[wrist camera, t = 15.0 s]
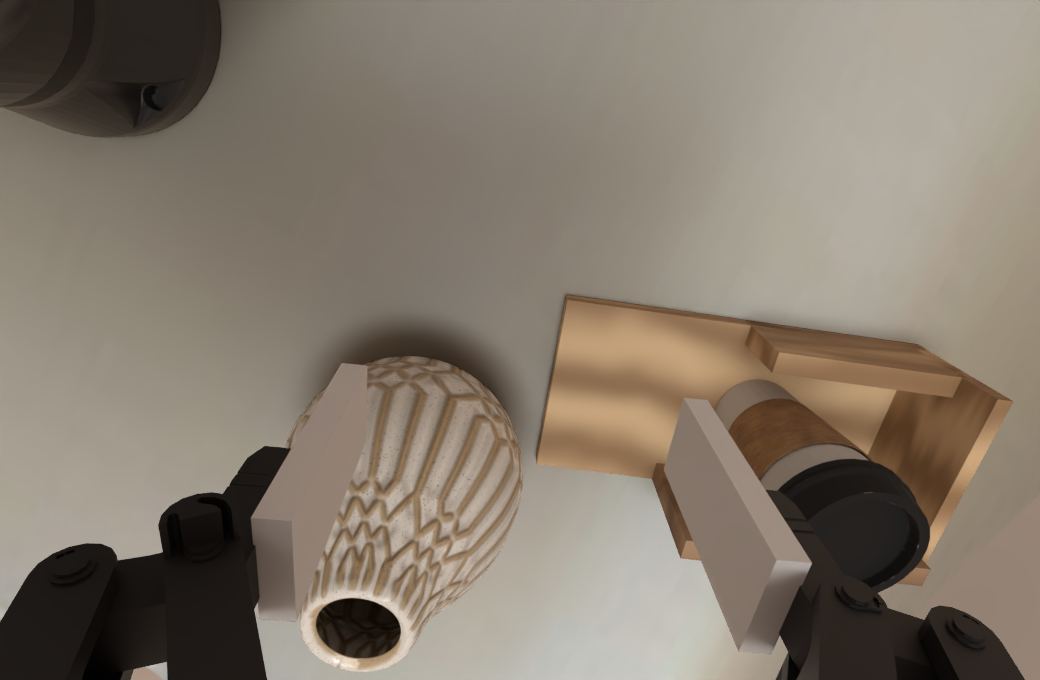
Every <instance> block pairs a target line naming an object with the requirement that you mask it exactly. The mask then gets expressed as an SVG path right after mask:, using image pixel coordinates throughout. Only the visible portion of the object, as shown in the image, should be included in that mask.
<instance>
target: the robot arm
mask: <svg viewBox="0 0 1040 680" xmlns="http://www.w3.org/2000/svg"><path fill="white" fill-rule="evenodd" d="M219 47H220V13H219V7H218V1H217V0H0V107H3V108H5V109H8V110H11V111H13V112H16V113H18V114H21V115H24V116H26V117H29V118H31V119H34V120H37V121H39V122H42V123H45V124H47V125H50V126H52V127H55V128H58V129H61V130H64V131H67V132H71V133H75V134H80V135H86V136H93V137H124V136H137V135H144V134H148V133H152V132H156V131H159V130H161V129H164V128H166V127H168V126H170V125H172V124H174V123H175V122H177V121H178V120H180V119H181V118H183V117H184V116H185V115H186V114H187V113H188V112H189V111H191V110H192V109H193V107H194V106H195V105H196V104H197V103H198V102H199V100H200V99H201V97H202V96H203V94H204V93H205V91H206V89H207V87H208V85H209V83H210V81H211V79H212V76H213V74H214V71H215V67H216V64H217V59H218V54H219ZM366 413H367V366H366V365H356V364H346V363H341V365H340V366H339V368H338V370H337V372H336V373H335V375H334V377H333V378H332V380H331V382H330V384H329V385H328V387H327V389H326V390H325V392H324V394H323V396H322V397H321V399H320V401H319V402H318V404H317V406H316V407H315V409H314V411H313V413H312V414H311V416H310V418H309V419H308V421H307V423H306V425H305V426H304V428H303V430H302V431H301V433H300V435H299V437H298V438H297V440H296V442H295V443H294V445H293V447H292V448H280V447H269V446H264V447H263V448H261V449H260V450H258V451H257V452H255V453H254V454H253V455H251V456H250V457H248V458H247V460H246V461H245V462H244V464H243V465H242V467H241V468H240V470H239V471H238V474H237V475H236V476H235V477H234V478H233V480H232V481H231V483H230V486H229V487H227V489H226V490H225V492H224V493H223V494H219V493H202V494H196V495H193V496H189V497H186V498H183V499H181V500H180V501H178V502H176V503H174V504H173V505H171V506H170V507H169V508H168V509H167V510H166V511H165V512H164V513H163V514H162V515H161V518H160V521H159V525H158V526H159V531H160V537H161V543H162V549H163V552H162V553H158V554H154V555H150V556H144V557H138V558H131V559H125V560H119V561H118V560H117V556H116V554H115V553H114V551H113V550H112V548H110V547H107V546H105V545H102V544H87V543H86V544H81V545H77V546H72V547H68V548H66V549H63V550H61V551H59V552H56V553H54V554H52V555H50V556H49V557H47V558H46V559H44V560H43V561H41V562H40V563H38V564H37V566H36V567H35V568H34V569H33V570H32V571H31V572H30V574H29V575H28V576H27V578H26V580H25V581H24V583H23V585H22V586H21V588H20V590H19V591H18V593H17V595H16V596H15V598H14V600H13V601H12V603H11V605H10V606H9V608H8V610H7V611H6V613H5V615H4V617H3V618H2V620H1V622H0V680H130V679H131V676H132V673H133V670H134V669H136V668H140V667H145V666H149V665H154V664H159V663H163V662H167V672H168V680H267V677H266V672H265V667H264V661H263V656H262V650H261V645H260V639H259V634H258V628H257V623H256V617H255V612H254V608H255V606H256V604H257V602H258V609H259V619H262V620H276V621H291V622H296V621H297V619H298V616H299V614H300V611H301V608H302V606H303V603H304V601H305V598H306V596H307V593H308V590H309V588H310V585H311V583H312V580H313V577H314V575H315V572H316V570H317V567H318V565H319V562H320V559H321V557H322V554H323V552H324V549H325V547H326V544H327V541H328V539H329V536H330V534H331V531H332V528H333V526H334V523H335V521H336V518H337V516H338V513H339V510H340V508H341V505H342V503H343V500H344V498H345V495H346V492H347V490H348V487H349V485H350V482H351V479H352V477H353V474H354V472H355V469H356V467H357V464H358V461H359V459H360V456H361V454H362V451H363V449H364V446H365V443H366ZM664 472H665V474H666V476H667V479H668V481H669V484H670V486H671V489H672V491H673V493H674V496H675V498H676V501H677V503H678V506H679V508H680V510H681V513H682V515H683V518H684V520H685V523H686V525H687V527H688V530H689V532H690V535H691V537H692V540H693V542H694V544H695V547H696V549H697V552H698V554H699V557H700V559H701V561H702V564H703V566H704V569H705V571H706V574H707V576H708V578H709V581H710V583H711V586H712V588H713V591H714V593H715V595H716V598H717V600H718V603H719V605H720V608H721V610H722V612H723V615H724V617H725V620H726V622H727V625H728V627H729V629H730V632H731V634H732V637H733V639H734V641H735V644H736V646H737V649H738V651H739V652H750V653H765V654H771V653H772V651H773V649H774V647H775V645H776V642H777V640H778V638H779V636H781V638H782V640H783V642H784V644H785V646H786V648H787V650H788V654H787V656H786V658H785V660H784V663H783V665H782V667H781V669H780V671H779V673H778V676H777V678H776V680H1025V679H1024V678H1023V676H1022V674H1021V673H1020V671H1019V670H1018V668H1017V666H1016V665H1015V663H1014V662H1013V660H1012V658H1011V657H1010V655H1009V654H1008V652H1007V650H1006V649H1005V647H1004V645H1003V644H1002V642H1001V641H1000V640H999V639H998V637H997V636H996V635H995V634H994V633H993V631H991V630H990V629H989V628H988V627H986V626H985V625H984V624H983V623H982V622H980V621H979V620H977V619H976V618H974V617H972V616H971V615H969V614H967V613H965V612H963V611H960V610H957V609H955V608H952V607H945V606H937V607H934V608H931V610H930V612H929V613H928V615H927V617H926V618H925V620H923V619H919V618H916V617H913V616H910V615H907V614H904V613H901V612H898V611H895V610H892V609H889V608H887V605H886V603H885V601H884V600H883V599H882V598H881V597H880V595H879V594H878V593H877V592H876V591H874V590H873V589H872V588H871V587H869V586H868V585H867V584H865V583H863V582H862V581H860V580H858V579H856V578H854V577H851V576H847V575H844V573H843V572H842V570H841V569H840V568H839V566H838V565H837V563H836V562H835V560H834V559H833V557H832V556H831V555H830V553H829V552H828V550H827V549H826V547H825V546H824V544H823V543H822V542H821V540H820V539H819V537H818V536H817V535H815V533H814V532H815V531H814V530H813V529H812V527H811V526H810V524H809V523H808V522H806V518H805V517H804V516H803V514H802V513H801V511H800V510H799V508H798V507H797V505H796V504H795V503H793V502H792V501H791V500H790V499H789V498H787V497H786V496H785V495H784V494H783V493H781V492H780V491H774V490H765V489H764V487H763V486H762V484H761V483H760V481H759V479H758V478H757V476H756V475H755V473H754V472H753V470H752V469H751V467H750V465H749V464H748V462H747V461H746V459H745V458H744V456H743V454H742V453H741V451H740V450H739V448H738V447H737V445H736V444H735V442H734V440H733V439H732V437H731V436H730V434H729V433H728V431H727V430H726V428H725V426H724V425H723V423H722V422H721V420H720V419H719V417H718V416H717V414H716V412H715V411H714V409H713V408H712V406H711V405H710V403H709V401H708V400H702V399H692V398H684V399H683V403H682V406H681V410H680V413H679V417H678V420H677V424H676V427H675V431H674V435H673V438H672V442H671V445H670V449H669V452H668V456H667V459H666V463H665V466H664Z"/></svg>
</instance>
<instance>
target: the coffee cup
mask: <svg viewBox="0 0 1040 680" xmlns="http://www.w3.org/2000/svg"><path fill="white" fill-rule="evenodd" d="M715 412H716V414H717V416H718V417H719V419H720V420H721V422H722V423H723V425H724V426H725V428H726V430H727V431H728V433H729V434H730V436H731V437H732V439H733V440H734V442H735V444H736V445H737V447H738V448H739V450H740V451H741V453H742V454H743V456H744V458H745V459H746V461H747V462H748V464H749V465H750V467H751V469H752V470H753V472H754V473H755V475H756V476H757V478H758V479H759V481H760V483H761V484H762V486H763V487H764V489H765V490H774V491H780V492H781V493H783V494H784V495H785V496H786V497H787V498H789V499H790V500H791V501H792V502H793V503H795V504H796V505H797V507H798V508H799V510H800V511H801V513H802V514H803V516H804V517H805V518H806V522H808V523H809V524H810V526H811V527H812V529H813V530H814V531H815V532H814V533H815V535H817V536H818V537H819V539H820V540H821V542H822V543H823V544H824V546H825V547H826V549H827V550H828V552H829V553H830V555H831V556H832V557H833V559H834V560H835V562H836V563H837V565H838V566H839V568H840V569H841V570H842V572H843V573H844V575H847V576H851V577H854V578H856V579H858V580H860V581H862V582H863V583H865V584H867V585H868V586H869V587H871V588H872V589H873V590H874V591H876V592H877V593H878V592H880V591H883V590H885V589H887V588H889V587H891V586H893V585H894V584H896V583H897V582H899V581H900V580H902V579H904V578H905V577H906V576H907V575H908V574H909V573H910V572H912V571H913V570H914V569H915V567H916V566H917V565H918V564H919V562H920V561H921V560H922V558H923V556H924V554H925V553H926V551H927V548H928V545H929V541H930V526H929V523H928V520H927V517H926V516H925V514H924V513H923V511H922V510H921V508H920V507H919V506H918V504H917V501H916V498H915V496H914V494H913V493H912V491H911V490H910V488H909V487H908V486H907V485H906V484H905V483H904V482H903V481H902V480H901V478H899V477H898V476H897V475H896V474H895V473H894V472H893V471H892V470H890V469H888V468H887V467H885V466H883V465H881V464H878V463H875V462H873V460H872V459H871V458H870V457H869V456H868V455H867V454H866V453H865V452H864V451H862V450H861V449H860V448H859V447H857V446H856V445H855V444H853V443H852V442H851V441H850V440H848V439H847V438H846V437H844V436H843V435H842V434H841V433H839V432H838V431H837V430H835V429H834V428H833V427H832V426H830V425H829V424H828V423H827V422H825V421H824V420H823V419H821V418H820V417H819V416H818V415H816V414H815V413H814V412H812V411H811V410H810V409H809V408H807V407H806V406H804V405H803V404H801V403H800V402H799V401H798V400H797V399H796V398H794V397H793V396H792V395H791V394H790V393H788V392H787V391H786V390H785V389H784V388H782V387H781V386H779V385H778V384H776V383H774V382H771V381H768V380H750V381H745V382H743V383H740V384H738V385H736V386H734V387H733V388H731V389H730V390H729V391H727V392H726V393H725V394H724V395H723V397H722V398H721V399H720V401H719V403H718V405H717V407H716V410H715Z"/></svg>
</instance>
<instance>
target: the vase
mask: <svg viewBox="0 0 1040 680" xmlns="http://www.w3.org/2000/svg"><path fill="white" fill-rule="evenodd" d="M364 365H366V366H367V413H366V443H365V446H364V449H363V451H362V454H361V456H360V459H359V461H358V464H357V467H356V469H355V472H354V474H353V477H352V479H351V482H350V485H349V487H348V490H347V492H346V495H345V498H344V500H343V503H342V505H341V508H340V510H339V513H338V516H337V518H336V521H335V523H334V526H333V528H332V531H331V534H330V536H329V539H328V541H327V544H326V547H325V549H324V552H323V554H322V557H321V559H320V562H319V565H318V567H317V570H316V572H315V575H314V577H313V580H312V583H311V585H310V588H309V590H308V593H307V596H306V598H305V601H304V603H303V606H302V608H301V611H300V628H301V633H302V637H303V639H304V641H305V643H306V645H307V646H308V648H309V649H310V650H311V651H312V652H313V653H314V654H315V655H316V656H317V657H318V658H320V659H321V660H323V661H324V662H326V663H328V664H330V665H332V666H334V667H337V668H340V669H344V670H348V671H355V672H370V671H377V670H381V669H384V668H387V667H390V666H392V665H394V664H396V663H397V662H399V661H400V660H401V659H402V658H404V657H405V656H406V654H407V653H408V652H409V651H410V649H411V648H412V646H413V645H414V643H415V641H416V640H417V638H418V636H419V635H420V633H421V631H422V629H423V628H424V626H425V625H426V623H427V622H428V620H429V619H430V618H431V617H433V616H435V615H436V614H438V613H439V612H441V611H442V610H444V609H445V608H447V607H448V606H450V605H451V604H452V603H454V602H455V601H456V600H457V599H458V598H460V597H461V596H462V595H463V594H464V593H465V592H467V591H468V590H469V589H470V588H471V587H472V586H473V585H474V584H475V583H476V582H477V581H478V580H479V579H480V578H481V577H482V576H483V574H484V573H485V572H486V571H487V570H488V568H489V567H490V565H491V564H492V562H493V561H494V560H495V558H496V557H497V555H498V553H499V552H500V550H501V548H502V546H503V544H504V542H505V540H506V538H507V536H508V534H509V532H510V529H511V527H512V525H513V522H514V519H515V516H516V513H517V510H518V507H519V503H520V498H521V492H522V486H523V469H522V458H521V452H520V448H519V443H518V439H517V436H516V433H515V431H514V428H513V425H512V423H511V421H510V418H509V417H508V415H507V413H506V411H505V410H504V408H503V407H502V405H501V404H500V403H499V401H498V400H497V399H496V397H495V396H494V395H493V394H492V393H491V392H490V390H489V389H488V388H486V387H485V386H484V385H483V384H482V383H481V382H480V381H478V380H477V379H476V378H474V377H473V376H471V375H470V374H468V373H467V372H465V371H463V370H462V369H460V368H458V367H456V366H453V365H451V364H449V363H446V362H443V361H440V360H436V359H431V358H426V357H416V356H400V357H390V358H384V359H380V360H376V361H373V362H370V363H367V364H364ZM327 387H328V386H327ZM327 387H326V388H325V389H324V390H323V391H321V392H320V393H319V394H318V395H317V396H316V397H315V398H314V399H313V400H312V401H311V403H310V404H309V405H308V406H307V407H306V409H305V410H304V411H303V413H302V414H301V415H300V417H299V418H298V420H297V422H296V423H295V425H294V427H293V429H292V431H291V434H290V436H289V438H288V440H287V443H286V446H285V448H292V447H293V445H294V443H295V442H296V440H297V438H298V437H299V435H300V433H301V431H302V430H303V428H304V426H305V425H306V423H307V421H308V419H309V418H310V416H311V414H312V413H313V411H314V409H315V407H316V406H317V404H318V402H319V401H320V399H321V397H322V396H323V394H324V392H325V390H326V389H327Z"/></svg>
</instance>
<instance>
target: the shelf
mask: <svg viewBox="0 0 1040 680" xmlns="http://www.w3.org/2000/svg"><path fill="white" fill-rule="evenodd" d="M750 380H768V381H771V382H774V383H776V384H778V385H779V386H781V387H782V388H784V389H785V390H786V391H787V392H788V393H790V394H791V395H792V396H793V397H794V398H796V399H797V400H798V401H799V402H800V403H801V404H803V405H804V406H806V407H807V408H809V409H810V410H811V411H812V412H814V413H815V414H816V415H818V416H819V417H820V418H821V419H823V420H824V421H825V422H827V423H828V424H829V425H830V426H832V427H833V428H834V429H835V430H837V431H838V432H839V433H841V434H842V435H843V436H844V437H846V438H847V439H848V440H850V441H851V442H852V443H853V444H855V445H856V446H857V447H859V448H860V449H861V450H862V451H864V452H865V453H866V454H867V455H868V456H869V457H870V458H871V459H872V460H873V462H875V463H878V464H881V465H883V466H885V467H887V468H888V469H890V470H892V471H893V472H894V473H895V474H896V475H897V476H898V477H899V478H901V480H902V481H903V482H904V483H905V484H906V485H907V486H908V487H909V488H910V490H911V491H912V493H913V494H914V496H915V498H916V501H917V504H918V506H919V507H920V508H921V510H922V511H923V513H924V514H925V516H926V517H927V520H928V523H929V526H930V541H929V545H928V548H927V551H926V553H925V554H924V556H923V558H922V560H921V561H920V562H919V564H918V565H917V566H916V567H915V569H914V570H913V571H912V572H910V573H909V574H908V575H907V576H906V577H905V578H904V579H902V580H900V581H899V582H897V583H899V584H907V585H916V586H922V585H923V583H924V581H925V579H926V578H927V576H928V574H929V572H930V570H931V569H930V568H929V567H928V566H927V564H926V562H927V561H928V559H929V557H930V555H931V553H932V551H933V549H934V548H935V546H936V544H937V542H938V540H939V538H940V536H941V535H942V533H943V531H944V529H945V527H946V525H947V523H948V522H949V520H950V518H951V516H952V514H953V512H954V511H955V509H956V507H957V505H958V503H959V501H960V499H961V498H962V496H963V494H964V492H965V490H966V488H967V486H968V485H969V483H970V481H971V479H972V477H973V475H974V473H975V472H976V470H977V468H978V466H979V464H980V462H981V461H982V459H983V457H984V455H985V453H986V451H987V449H988V448H989V446H990V444H991V442H992V440H993V438H994V436H995V435H996V433H997V431H998V429H999V427H1000V425H1001V423H1002V422H1003V420H1004V418H1005V416H1006V414H1007V412H1008V411H1009V409H1010V407H1011V405H1012V403H1013V401H1012V400H1010V399H1008V398H1007V397H1005V396H1003V395H1002V394H1000V393H998V392H997V391H995V390H993V389H991V388H990V387H988V386H986V385H985V384H983V383H981V382H980V381H978V380H976V379H975V378H973V377H971V376H970V375H968V374H966V373H965V372H963V371H961V370H960V369H958V368H956V367H955V366H953V365H951V364H950V363H948V362H946V361H944V360H943V359H941V358H939V357H938V356H936V355H934V354H933V353H931V352H929V351H928V350H926V349H924V348H923V347H921V346H919V345H918V344H911V343H904V342H897V341H890V340H883V339H875V338H868V337H861V336H854V335H847V334H840V333H833V332H826V331H819V330H812V329H805V328H798V327H791V326H784V325H777V324H770V323H762V322H755V321H748V320H741V319H734V318H727V317H720V316H713V315H706V314H699V313H692V312H685V311H678V310H671V309H664V308H656V307H649V306H642V305H635V304H628V303H621V302H614V301H607V300H600V299H593V298H586V297H579V296H572V295H566V298H565V304H564V309H563V315H562V320H561V325H560V331H559V336H558V341H557V347H556V352H555V357H554V363H553V368H552V373H551V379H550V384H549V389H548V395H547V400H546V405H545V411H544V416H543V421H542V427H541V432H540V437H539V443H538V448H537V453H536V464H539V465H547V466H555V467H563V468H571V469H579V470H587V471H595V472H603V473H612V474H620V475H628V476H636V477H644V478H652V480H653V483H654V485H655V488H656V491H657V494H658V497H659V499H660V502H661V505H662V508H663V511H664V513H665V516H666V519H667V522H668V525H669V527H670V530H671V533H672V536H673V538H674V541H675V544H676V547H677V550H678V552H679V555H680V558H683V559H692V560H701V559H700V557H699V554H698V552H697V549H696V547H695V544H694V542H693V540H692V537H691V535H690V532H689V530H688V527H687V525H686V523H685V520H684V518H683V515H682V513H681V510H680V508H679V506H678V503H677V501H676V498H675V496H674V493H673V491H672V489H671V486H670V484H669V481H668V479H667V476H666V474H665V472H664V466H665V463H666V459H667V456H668V452H669V449H670V445H671V442H672V438H673V435H674V431H675V427H676V424H677V420H678V417H679V413H680V410H681V406H682V403H683V399H684V398H692V399H702V400H708V401H709V403H710V405H711V406H712V408H713V409H714V411H715V410H716V407H717V405H718V403H719V401H720V399H721V398H722V397H723V395H724V394H725V393H726V392H727V391H729V390H730V389H731V388H733V387H734V386H736V385H738V384H740V383H743V382H745V381H750Z"/></svg>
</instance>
